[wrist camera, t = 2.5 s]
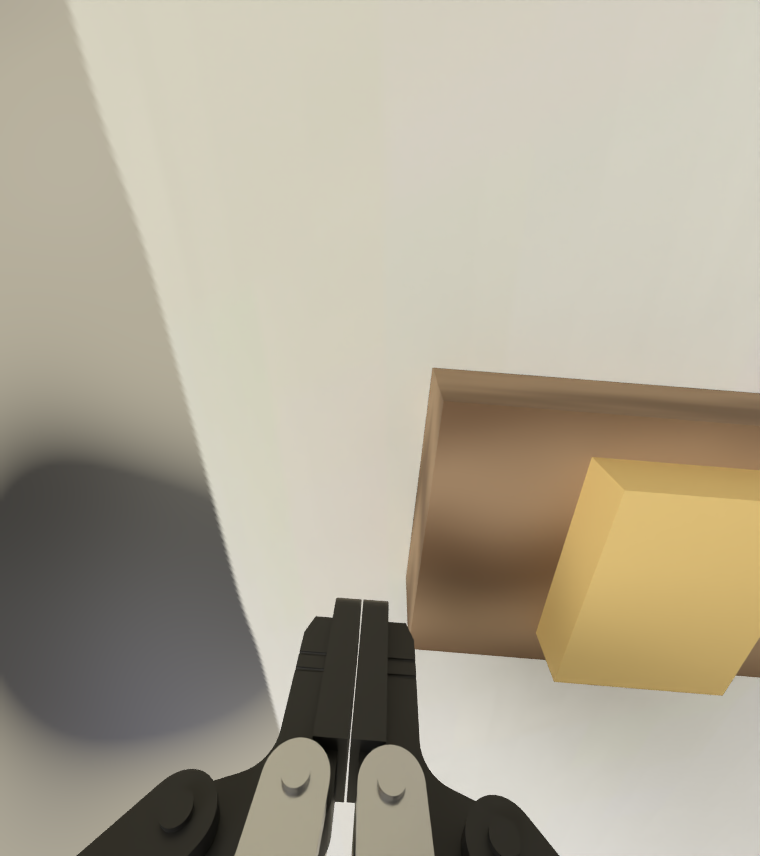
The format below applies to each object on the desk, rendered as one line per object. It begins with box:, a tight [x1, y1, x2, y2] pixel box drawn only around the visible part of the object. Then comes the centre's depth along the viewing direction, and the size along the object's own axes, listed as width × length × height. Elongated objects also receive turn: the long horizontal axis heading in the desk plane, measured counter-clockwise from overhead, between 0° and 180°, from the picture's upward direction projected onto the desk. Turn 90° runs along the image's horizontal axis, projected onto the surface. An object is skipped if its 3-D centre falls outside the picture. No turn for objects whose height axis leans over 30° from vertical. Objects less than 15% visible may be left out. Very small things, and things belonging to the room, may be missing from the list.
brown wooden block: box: [406, 368, 760, 677], centre depth 16 cm, size 11×15×4 cm
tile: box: [536, 457, 760, 696], centre depth 13 cm, size 8×6×2 cm
